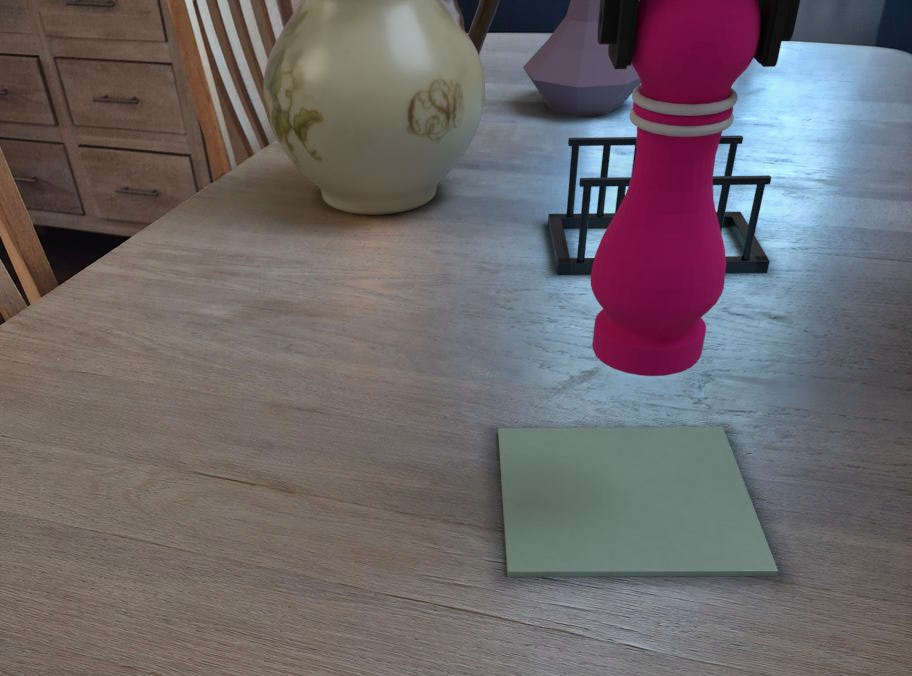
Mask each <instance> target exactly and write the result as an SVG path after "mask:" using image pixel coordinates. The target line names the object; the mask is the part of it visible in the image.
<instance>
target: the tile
mask: <svg viewBox="0 0 912 676" xmlns="http://www.w3.org/2000/svg"><path fill="white" fill-rule="evenodd" d="M497 436H498V437H497V438H498V439H497V440H498V454H499V469H500V484H501V498H502V515H503V528H504V529H503V531H504V543H505V544H504V545H505V546H504V547H505V559H506V561H505V562H506V576H507V578H555V577H556V578H565V577H566V578H569V577H570V578H581V577H582V578H590V577H593V578H594V577H595V578H596V577H597V578H598V577H601V578H602V577H603V578H604V577H605V578H606V577H611V578H613V577H614V578H615V577H618V578H619V577H623V578H624V577H625V578H627V577H630V578H631V577H777V576H778V573H779V569H778V566H777V564H776V561H775V559H774V557H773V554H772V551H771V549H770V546H769V543H768V541H767V538H766V535H765V533H764V530H763V528H762V525H761V523H760V520H759V518H758V515H757V512H756V510H755V507H754V504H753V501H752V499H751V496H750V494H749V491H748V488H747V486H746V483H745V481H744V477H743V475H742V473H741V470H740V468H739V465H738V463H737V460H736V457H735V455H734V452H733V450H732V447H731V444H730V442H729V440H728V439H729V438H728V436H727V434H726V432H725V428H724V426H660V427H659V426H649V427H648V426H646V427H644V426H643V427H642V426H639V427H638V426H637V427H636V426H635V427H633V426H632V427H623V426H622V427H501V428H500V427H498V428H497Z"/></svg>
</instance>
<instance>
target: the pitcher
mask: <svg viewBox="0 0 912 676" xmlns="http://www.w3.org/2000/svg"><path fill="white" fill-rule="evenodd" d="M500 2H501V0H479V2H478V5H477V8H476V10H475V14H474V16H473V19H472V22H471V25H470V28H469V30H468V33H467V31H466V27H465V19H464V15H463V13H462V10H461V9H460V6H459V4H458V1H457V0H301V1H300V2H299V4H298V5H297V7H296V9H295V11H294V12H293V13H292V14H291V17H290V18H289V19H288V21H287V22H286V23H285V25H284V27H283V29H282V31H280V34H279V36H278V37H277V39H276V41H275V43H274V45H273V47H272V49H271V51H270V53H269V56H268V58H267V62H266V65H265V69H264V75H263V83H262V94H263V104H264V109H265V113H266V114H265V115H266V117H267V120H268V121H267V122H268V123H269V126H270V128H271V131H272V132H273V134H274V137H275V139H276V141H277V143H278V145H279V146H280V148H281V149H282V151H283V152H284V154H285V155H286V157H288V159H289V160H290V161H291V162H292V164H293V165H294V166H295V167H296V169H298V170H299V171H300V172H301V174H303V176H305V177H306V179H308V180H309V181H310V182H311V183H313V184H314V185H315V186H316V187H318V188H319V189H320V192H321V196H322V199H323V201H324V202H325V203H326V204H327V205H328V206H330V207H331V208H333V209H335V210H337V211H340V212H343V213H349V214H353V215H365V216H380V215H381V216H382V215H383V216H384V215H393V214H399V213H404V212H408V211H412V210H415V209H418V208H420V207H423V206H424V205H426V204H428V203H429V202H430V201H431V200H433V198H435V196H436V193H437V189H438V184H439V183H440V182H441V181H442V180H443V179H444V178H445V177H447V175H449V173H451V171H452V170H453V169H454V168H455V167H456V166H457V164H458V163H459V162H460V161H461V159H462V158H463V156H464V155H465V153H466V152H467V150H468V149H469V147H470V145H471V144H472V142H473V140H474V139H475V136H476V133H477V131H478V128H479V126H480V125H481V121H482V120H481V119H482V116H483V112H484V107H485V103H486V101H485V100H486V77H485V71H484V67H483V63H482V60H481V58H480V54H481V51H482V49H483V46H484V43H485V40H486V37H487V35H488V33H489V30H490V28H491V25H492V23H493V21H494V18H495V16H496V14H497V11H498V8H499V4H500Z"/></svg>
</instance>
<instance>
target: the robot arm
mask: <svg viewBox="0 0 912 676" xmlns="http://www.w3.org/2000/svg"><path fill="white" fill-rule="evenodd" d="M638 2H639V0H600V9H599V20H598V43H599V44H609V46H608V55H609V58H610V60H611V62H612V64H613V66H614V68H615V69H626V68H627V66H631V62H632V54H633V46H634V37H635V28H636V19H637V10H638ZM758 3H759V5H760V12H761V32H760V40H759V44H758V47H757V50H756V54H755V56H754V58H753V59H754V60H755V61H756V62H757V64H759V65H761V66H762V68H769V67H770V68H772V67H773V68H775V67H776V66H777V64H778V62H779V61H778V60H779V56H780V51H781V46H782V42H790V41H791V40H792V38H793V35H794V31H795V27H796V22H797V18H798V13H799V9H800V4H801V0H758Z"/></svg>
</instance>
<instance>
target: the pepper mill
mask: <svg viewBox="0 0 912 676" xmlns="http://www.w3.org/2000/svg"><path fill="white" fill-rule="evenodd" d="M760 32H761V12H760V5H759V3H758V0H639V2H638V10H637V19H636V28H635V37H634V46H633V54H632V62H631V63H632V65H633V67H634V69H635V70H636V72H637V74H638V76H639V78H640V80H641V84H640V85H638V86H637V87H636V88H635V89H634V90H633V92H632V94H631V99H632V101H633V102H632V108H631V110H630V112H629V116H628V117H629V120H630V122H631V124H632V125H634V126H635V127H636V137H637V144H636V156H635V162H634V168H633V173H632V172H631V174H632V177H631V176H630V177H631V180H630V183H629V186H627V189H626V192H625V197H624V199H623V201H622V203H621V205H620V206H619V208H618V210H617V212H616V214H615V215H614V217H613V219H612V221H611V222H610V224H609V226H608V228H607V229H605V231H604V233H603V234H602V237H601V239H600V242H599V244H598V246H597V249H596V252H595V255H594V257H593V258H594V262H593V267H592V272H591V275H590V287H591V291H592V294H593V296H594V298H595V299H596V302H597V303H598V304H599V305H600V307H601V308H602V309H601V310H600V311H599V312H598V313H597V314H596V317H595V319H594V325H593V334H592V344H591V345H592V352H593V353H594V355H595V357H596V358H597V359H598V360H599V361H600V362H601V363H603V364H604V365H606V366H608V367H609V368H612V369H613V370H617V371H620V372H623V373H626V374H628V375H629V374H630V375H635V376H644V377H664V376H670V375H674V374H679V373H682V372H685V371H687V370H689V369H691V368H692V367H694V366H695V365H696V364H697V363H698V362H699V360H700V358H701V356H702V353H703V349H704V343H705V337H706V333H707V325H706V322H705V320H704V319H703V316H705V314H707V313H708V312H709V311H710V310H711V309H712V308H714V306H715V305H716V304H717V303H718V301H719V300H720V298H721V296H722V294H723V291H724V289H725V278H726V273H725V270H726V257H725V256H726V249H725V243H724V239H723V234H722V232H721V230H720V226H719V222H718V218H717V214H716V212H717V210H716V209H717V208H716V205H715V200H714V185H713V176H714V171H715V163H716V155H717V152H718V148H719V145H720V144H719V142H720V138H721V136H723V131H725V130H727V129H729V128H730V127H731V126H732V125H733V123H734V119H735V117H734V116H735V115H734V114H733V113H734V106H735V105H736V104H737V102H738V99H739V98H738V96H739V95H738V93H737V92H736V90H735V89H734V88H732V87H733V85H734V84H735V83H736V82H737V79H739V78H740V76H741V75H742V74H743V73H744V72H745V71H746V70H747V69H748V68H749V66H750V64H752V61H753V60H754V59H755V58H754V56H755V54H756V50H757V47H758V44H759V40H760Z"/></svg>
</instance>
